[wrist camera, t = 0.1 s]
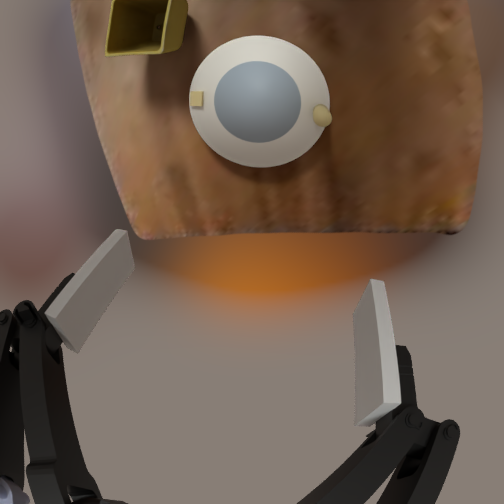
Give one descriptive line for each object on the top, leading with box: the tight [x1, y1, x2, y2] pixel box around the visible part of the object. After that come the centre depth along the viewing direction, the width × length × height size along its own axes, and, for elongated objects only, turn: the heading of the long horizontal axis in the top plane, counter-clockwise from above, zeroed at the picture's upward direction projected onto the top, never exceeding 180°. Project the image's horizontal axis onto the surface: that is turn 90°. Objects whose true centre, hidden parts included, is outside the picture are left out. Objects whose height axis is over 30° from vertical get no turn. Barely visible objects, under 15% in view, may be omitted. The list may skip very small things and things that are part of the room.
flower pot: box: [105, 0, 188, 57], centre depth 25 cm, size 9×9×9 cm
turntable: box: [189, 36, 332, 167], centre depth 30 cm, size 18×18×7 cm
